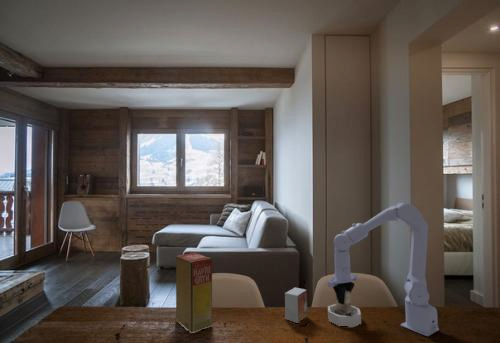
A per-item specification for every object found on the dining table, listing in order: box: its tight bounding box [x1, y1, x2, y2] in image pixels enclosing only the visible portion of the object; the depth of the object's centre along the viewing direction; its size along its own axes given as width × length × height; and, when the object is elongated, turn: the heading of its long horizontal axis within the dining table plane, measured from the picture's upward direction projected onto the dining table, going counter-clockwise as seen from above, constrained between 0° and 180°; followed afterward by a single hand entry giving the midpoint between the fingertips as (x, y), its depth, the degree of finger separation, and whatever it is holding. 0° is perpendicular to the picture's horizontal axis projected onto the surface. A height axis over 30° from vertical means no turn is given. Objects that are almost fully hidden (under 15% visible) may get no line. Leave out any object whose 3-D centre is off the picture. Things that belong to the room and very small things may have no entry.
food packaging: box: [175, 252, 213, 332], centre depth 113 cm, size 13×9×25 cm
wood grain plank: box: [335, 291, 352, 314], centre depth 114 cm, size 5×2×8 cm, turn 33°
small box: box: [284, 287, 308, 324], centre depth 115 cm, size 8×6×10 cm
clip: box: [335, 309, 353, 316], centre depth 114 cm, size 4×6×3 cm
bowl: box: [327, 303, 362, 328], centre depth 114 cm, size 12×12×4 cm
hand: (343, 302), depth 114 cm, fingers closed on wood grain plank, 2 cm apart
